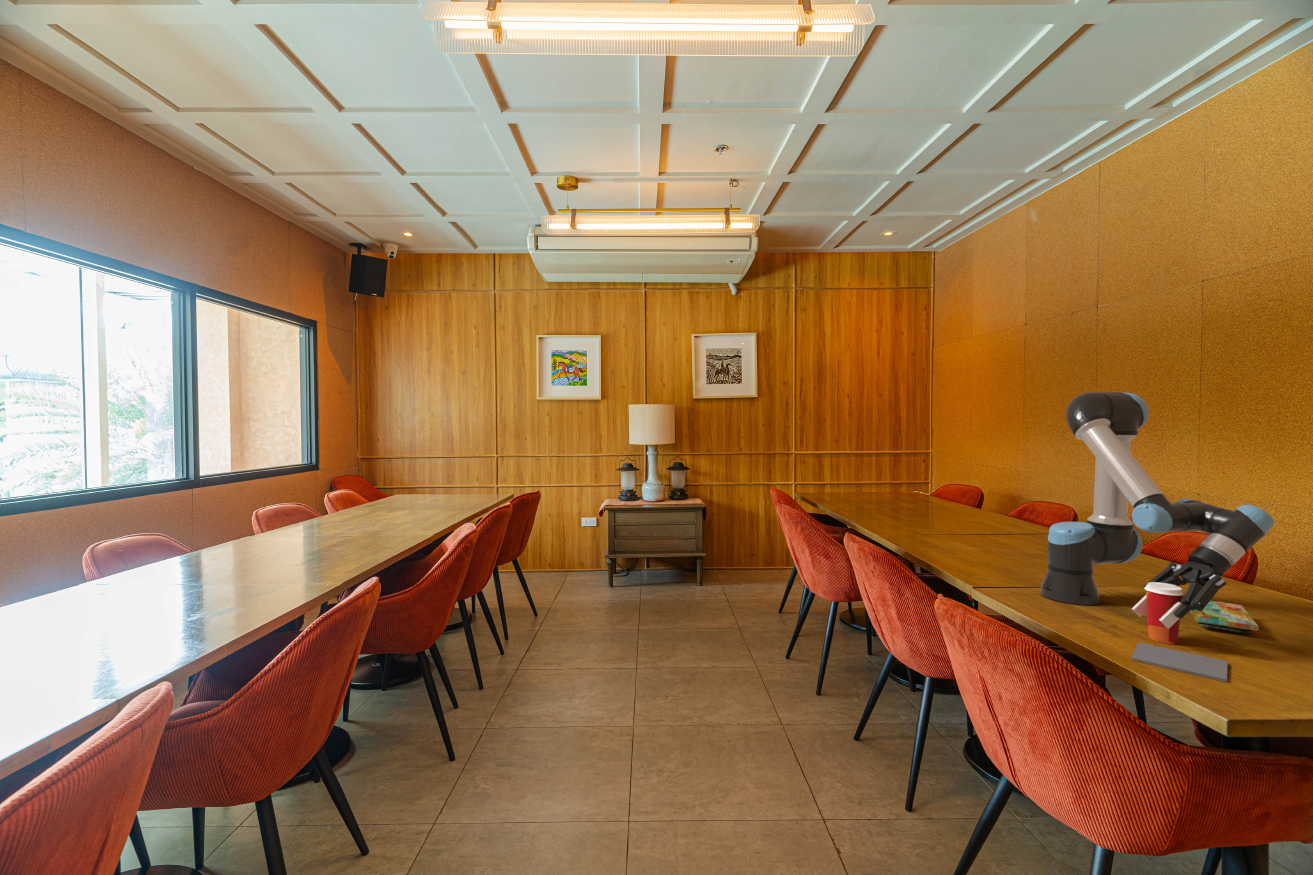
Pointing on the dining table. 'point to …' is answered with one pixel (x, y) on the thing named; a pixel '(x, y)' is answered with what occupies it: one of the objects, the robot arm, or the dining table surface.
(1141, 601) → the robot arm
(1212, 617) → the puzzle game
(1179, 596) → the paper cup
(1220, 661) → the mat
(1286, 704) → the dining table surface
